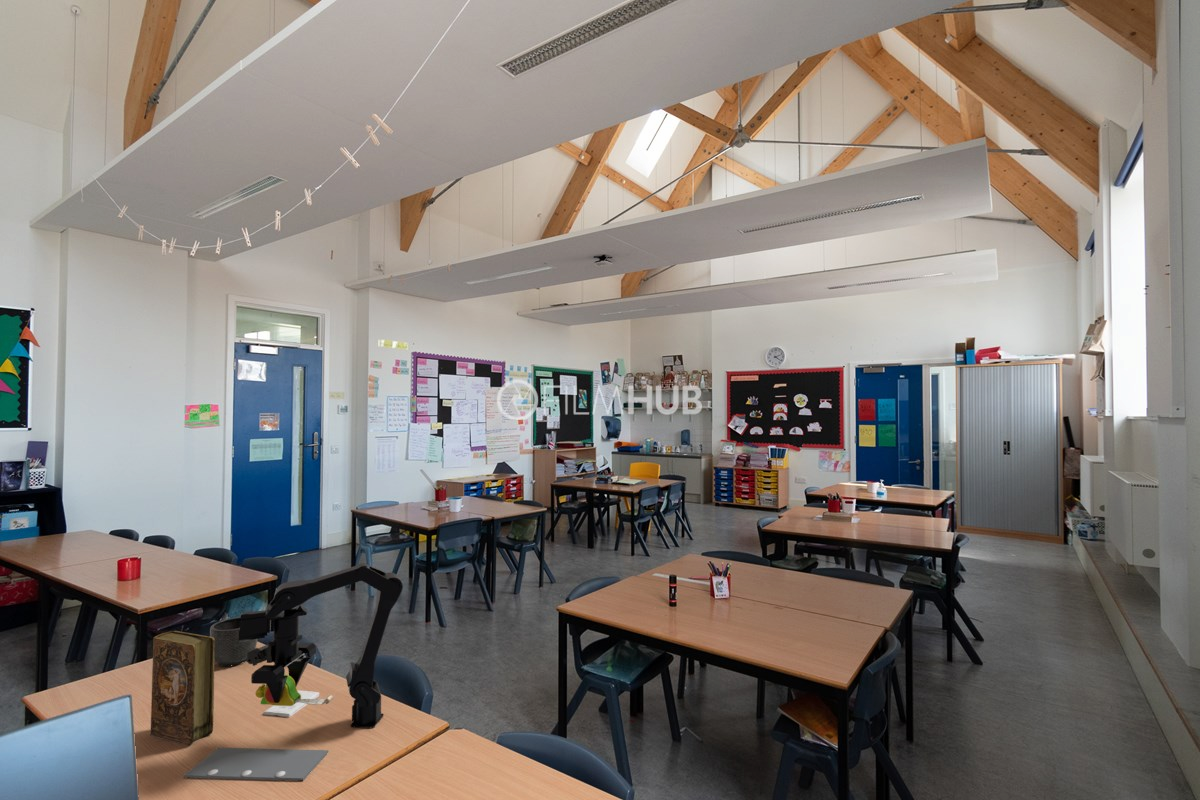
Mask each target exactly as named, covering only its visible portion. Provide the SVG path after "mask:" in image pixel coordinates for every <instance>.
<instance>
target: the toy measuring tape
mask: <svg viewBox="0 0 1200 800" xmlns="http://www.w3.org/2000/svg"><path fill="white" fill-rule="evenodd" d="M284 675H286V674H284ZM287 675H288V677H287V680H286V683H285V687H284V690H283V693H282V697H281V699H280V702H279V703H275V702H274V700H273V698H272V695H271V692H270V690H269V688H268V686H267V684H261V686H259V687H258V688H256V690H255V696H256V697H257V698H260V699H261V700H260V704H261V705H265V706H266V705H268V706H269V705H271V706H273V705H275V706H293V705H294V704H295V703H297V702H301V703H306V704H307V705H313V706H316V705H328V704H329V703H330V702H331V701H333V699H334V696H333V695H332V694H331V695H329V696H327V697H326V698H316V699H301V695H300V694H299V693H298V691H297V690H298V689H297V686H296V684H295V681H294V679H293V678H292V677H291V676H289V674H287Z"/></svg>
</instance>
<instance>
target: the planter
mask: <svg viewBox="0 0 1200 800" xmlns="http://www.w3.org/2000/svg"><path fill="white" fill-rule="evenodd" d="M240 620H241V616H239V617H231V618H227V619H222V620H220V621H217V622H215V623H213V624H212V625H211V626H210V628H209V637H213V638H214V639H215V660H214V662H216V663H218V664H219V665H220V666H221V665H222V666H221V667H225V666H228V667H232V666H231V665H235V666H238V665H237V664H239V665H241V664H240V663H242V662H244V663H245V661H246V660H247V654H248V652H249V651H250V650H252V649H253V650H254V649H255V648H257V644H258V639H255V640H249V641H242V642H239V628H240ZM246 662H247V661H246ZM242 664H243V663H242Z"/></svg>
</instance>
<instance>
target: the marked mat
mask: <svg viewBox="0 0 1200 800" xmlns="http://www.w3.org/2000/svg"><path fill="white" fill-rule="evenodd" d="M328 752H329V750H328V749H298V748H297V749H295V748H293V749H291V748H257V747H256V748H253V747H252V748H251V747H248V748H247V747H217V748H215V750H213V751H212V752H211V753H209V754H208V755H207V756H206V757H204V758H203V759H202V760H201V761H200V762H198V763H197V764H196V765H195V766H193V767H192V768H191V769H190V770H188V771H187V772H186V773H184V774H183V778H184V777H190V778H189V779H209V780H211V779H216V780H217V779H218V780H245V781H246V780H248V781H249V780H251V781H256V780H257V781H282V780H291V781H293V782H295V781H296V782H299V781H298V780H304V781H305V780H306V779H307V777H308V776H309V775H310V774H311V773H312V772H313V771H314V769H316V767H317V766H318V765H319V764H320V763H321V762H322V761H323V760H324V758H325V757H326V756H327V755H328V754H329V753H328ZM327 753H328V754H327ZM321 760H322V761H321ZM311 771H312V772H311ZM310 772H311V773H310ZM291 781H290V782H291Z"/></svg>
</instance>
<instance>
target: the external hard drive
mask: <svg viewBox="0 0 1200 800" xmlns="http://www.w3.org/2000/svg"><path fill="white" fill-rule="evenodd" d="M297 691H298V693H299V694H300V695H301V699H318V697H319V696H320V692H318V691H310V690H298V689H297ZM307 705H308V704H306V703H301V702H297V703H295V704H294V705H293V706H275V705H271V707H269V708H267V709H266V710H264V711H263V715H264V716H265V715H266V716H273V717H274V716H277V717H283V718H291V717H292V716H293V715H295V714H296V713H298V712H299V711H300V710H302V709H303V708H304V707H307ZM290 716H291V717H290Z"/></svg>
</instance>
